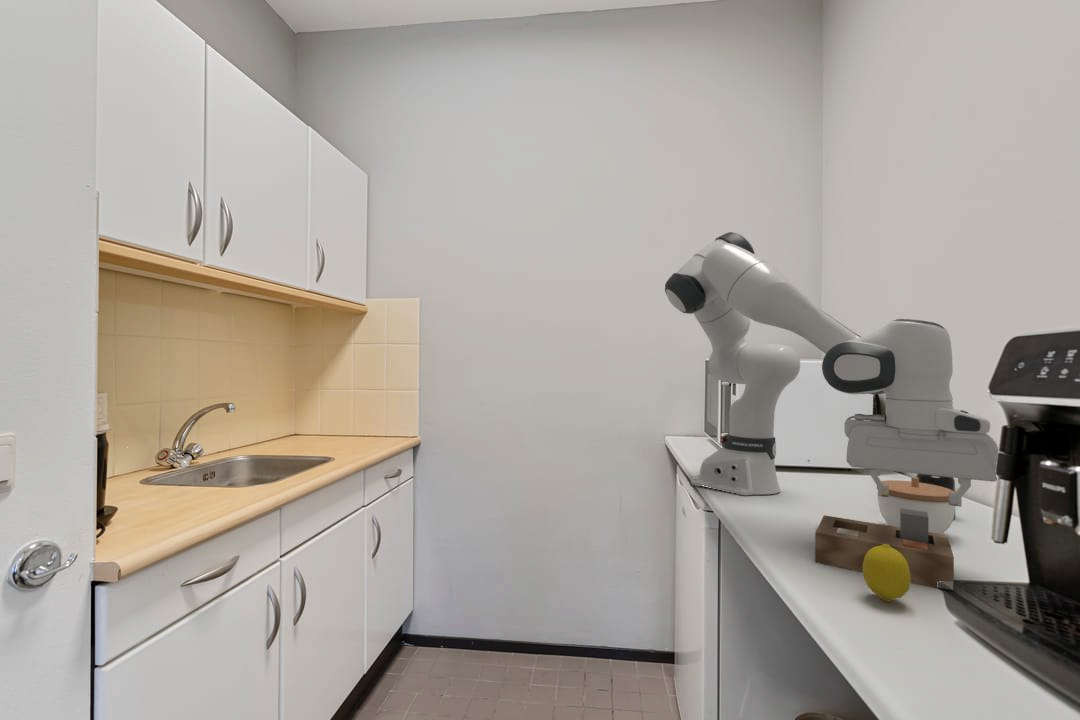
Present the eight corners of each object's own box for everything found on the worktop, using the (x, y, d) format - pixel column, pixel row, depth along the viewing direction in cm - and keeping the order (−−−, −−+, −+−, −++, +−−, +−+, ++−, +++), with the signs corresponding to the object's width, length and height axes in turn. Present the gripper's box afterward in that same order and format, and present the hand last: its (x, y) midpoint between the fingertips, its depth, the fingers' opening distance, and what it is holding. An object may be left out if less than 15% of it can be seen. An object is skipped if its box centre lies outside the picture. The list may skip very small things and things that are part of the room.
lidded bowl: (870, 532, 99) (870, 477, 99) (883, 519, 108) (884, 468, 108) (952, 550, 90) (952, 488, 90) (959, 533, 99) (959, 478, 99)
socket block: (815, 561, 84) (815, 530, 84) (823, 541, 94) (824, 513, 94) (953, 591, 73) (953, 555, 73) (947, 565, 83) (947, 533, 83)
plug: (900, 568, 82) (900, 513, 82) (900, 561, 85) (900, 508, 85) (928, 573, 80) (928, 517, 80) (926, 566, 82) (927, 512, 83)
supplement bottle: (941, 511, 114) (941, 459, 115) (963, 520, 108) (963, 465, 108) (909, 510, 115) (909, 458, 115) (929, 519, 108) (929, 464, 108)
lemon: (853, 592, 72) (853, 537, 73) (889, 592, 73) (889, 537, 73) (881, 611, 67) (882, 551, 67) (921, 610, 67) (921, 551, 67)
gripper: (843, 414, 86) (843, 494, 86) (1003, 423, 74) (1004, 516, 74) (845, 411, 91) (845, 487, 91) (996, 419, 79) (996, 506, 79)
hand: (918, 500), depth 82 cm, fingers open, 8 cm apart
